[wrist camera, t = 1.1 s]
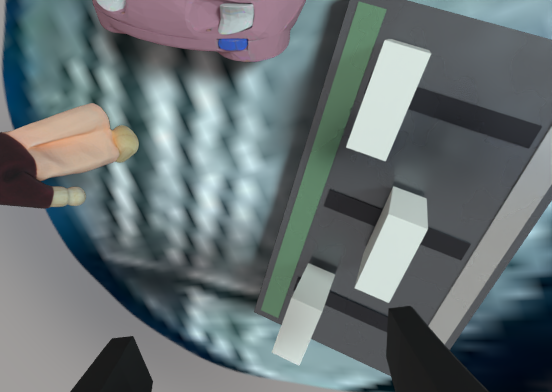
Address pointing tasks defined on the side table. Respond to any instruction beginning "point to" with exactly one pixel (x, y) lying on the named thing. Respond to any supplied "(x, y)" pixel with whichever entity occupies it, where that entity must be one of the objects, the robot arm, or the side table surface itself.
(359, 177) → the breaker panel
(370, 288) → the block
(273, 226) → the side table surface
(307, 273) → the block
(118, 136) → the grandmother figurine
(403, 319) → the robot arm
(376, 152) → the block
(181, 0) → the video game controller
